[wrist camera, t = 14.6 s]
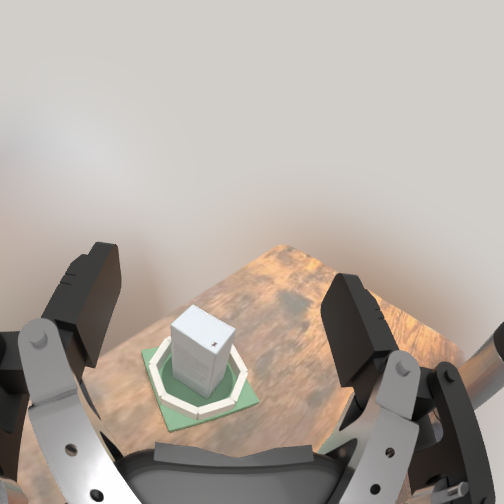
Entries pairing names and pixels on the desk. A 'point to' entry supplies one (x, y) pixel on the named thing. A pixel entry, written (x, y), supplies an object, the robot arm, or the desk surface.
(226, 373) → the octagonal rimmed tray
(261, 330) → the desk surface
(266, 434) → the desk surface
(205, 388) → the skincare box
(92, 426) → the robot arm
